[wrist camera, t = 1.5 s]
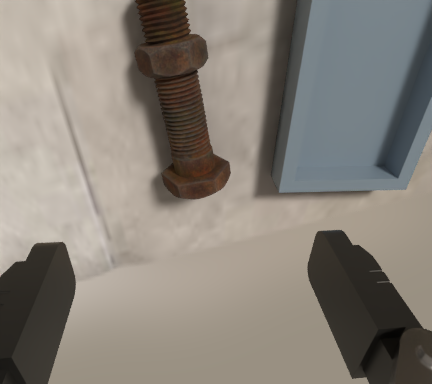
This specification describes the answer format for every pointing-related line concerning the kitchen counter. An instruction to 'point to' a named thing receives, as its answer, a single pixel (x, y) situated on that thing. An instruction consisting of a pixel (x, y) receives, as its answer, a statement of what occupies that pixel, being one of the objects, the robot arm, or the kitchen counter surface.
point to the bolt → (180, 97)
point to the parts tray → (355, 96)
